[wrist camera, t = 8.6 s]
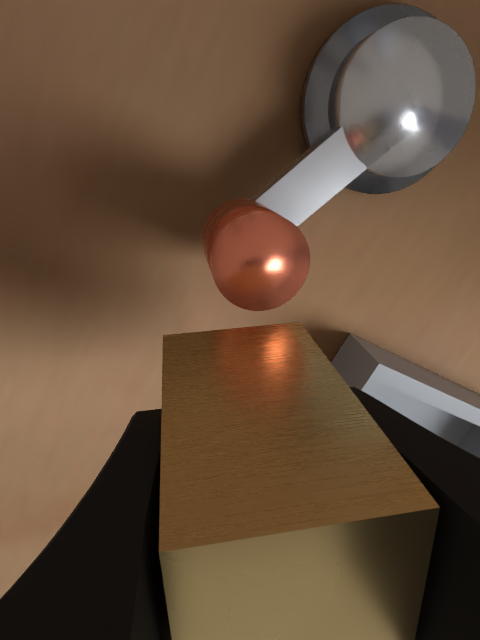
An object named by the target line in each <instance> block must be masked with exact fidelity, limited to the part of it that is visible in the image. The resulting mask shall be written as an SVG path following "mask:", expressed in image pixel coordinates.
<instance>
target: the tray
mask: <svg viewBox="0 0 480 640" xmlns="http://www.w3.org/2000/svg"><path fill="white" fill-rule="evenodd" d="M331 364H332V365H333V366H334V368H335V369H336V370H337V372H338V373H339V374H340V376H341V377H342V378H343V380H344V381H345V382H346V384H347V385H348V386H349V387H356V388H358V389H360V390H361V391H363V392H365V393H367V394H369V395H370V396H372V397H374V398H375V399H377V400H379V401H380V402H382V403H384V404H385V405H387V406H389V407H390V408H392V409H394V410H395V411H397V412H399V413H400V414H402V415H404V416H405V417H407V418H409V419H410V420H412V421H414V422H415V423H417V424H419V425H421V426H422V427H424V428H426V429H427V430H429V431H431V432H433V433H434V434H436V435H438V436H440V437H441V438H443V439H445V440H447V441H449V442H450V443H452V444H454V445H456V446H458V447H459V448H461V449H463V450H465V451H467V452H469V453H471V454H473V455H475V456H477V457H478V458H480V395H479V394H477V393H475V392H473V391H471V390H469V389H467V388H465V387H462V386H460V385H458V384H456V383H454V382H452V381H450V380H448V379H446V378H443V377H441V376H439V375H437V374H435V373H433V372H431V371H429V370H426V369H424V368H422V367H420V366H418V365H416V364H414V363H412V362H409V361H407V360H405V359H403V358H401V357H399V356H397V355H395V354H392V353H390V352H388V351H386V350H384V349H382V348H380V347H378V346H376V345H373V344H371V343H369V342H367V341H365V340H363V339H361V338H359V337H356V336H354V335H352V334H349V335H348V337H347V338H346V340H345V341H344V343H343V345H342V346H341V348H340V349H339V351H338V352H337V354H336V356H335V357H334V359H333V360H332V362H331Z"/></svg>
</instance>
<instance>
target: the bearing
mask: <svg viewBox="0 0 480 640" xmlns="http://www.w3.org/2000/svg"><path fill="white" fill-rule="evenodd" d="M415 16H422V17H429V18H433V19H436V20H438V19H437V18H435V17H434V16H432V15H431V14H430V13H428V12H426V11H424V10H422V9H420V8H417V7H414V6H410V5H405V4H385V5H381V6H377V7H373V8H370V9H368V10H366V11H363V12H361V13H360V14H358V15H356V16H354V17H353V18H351V19H350V20H348V21H347V22H345V23H344V24H343V25H342V26H340V27H339V28H338V29H337V30H335V31H334V32H333V33H332V34H331V35H330V36H329V38H328V39H327V40H326V41H325V42H324V44H323V45H322V46H321V48H320V49H319V50H318V52H317V54H316V56H315V57H314V59H313V61H312V63H311V65H310V68H309V70H308V72H307V75H306V79H305V82H304V85H303V91H302V96H301V108H300V113H301V126H302V132H303V136H304V140H305V143H306V146H307V148H308V149H309V148H310V147H311V146H312V145H313V144H315V143H316V142H317V141H318V140H319V139H320V138H322V137H323V136H324V135H325V134H326V133H327V132H329V131H330V126H329V119H328V101H329V94H330V89H331V85H332V82H333V79H334V76H335V74H336V72H337V70H338V68H339V66H340V64H341V63H342V61H343V59H344V58H345V56H346V55H347V54H348V53H349V51H350V50H351V49H352V48H353V47H354V46H355V45H356V44H357V43H358V42H359V41H361V40H362V39H363V38H365V37H366V36H368V35H370V34H371V33H373V32H375V31H377V30H379V29H380V28H382V27H384V26H386V25H388V24H390V23H392V22H394V21H397V20H399V19H403V18H407V17H415ZM435 166H436V165H435ZM435 166H434V167H435ZM434 167H432V168H430V169H428V170H426V171H424V172H422V173H419V174H417V175H413V176H409V177H388V176H381V175H374V174H369V173H367V172H364V171H363V172H362V173H361V174H360V175H359V176H357V177H356V178H355V179H354V180H353V181H351V182H350V183H349V184H348V185H347V186H345V188H347V189H350V190H354V191H358V192H362V193H368V194H382V193H390V192H393V191H397V190H400V189H403V188H405V187H407V186H409V185H411V184H413V183H415V182H416V181H418V180H419V179H421V178H422V177H423V176H425V175H426V174H427V173H428V172H429V171H430V170H432V169H433V168H434Z"/></svg>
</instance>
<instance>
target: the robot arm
mask: <svg viewBox="0 0 480 640" xmlns="http://www.w3.org/2000/svg"><path fill="white" fill-rule="evenodd" d="M349 388H350V389H351V390H352V392H353V393H354V394H355V395H356V397H357V398H358V399H359V401H360V402H361V403H362V405H363V406H364V407H365V409H366V410H367V411H368V413H369V414H370V415H371V417H372V418H373V419H374V421H375V422H376V423H377V425H378V426H379V427H380V429H381V430H382V431H383V433H384V434H385V435H386V436H387V438H388V439H389V440H390V442H391V443H392V444H393V446H394V447H395V448H396V450H397V451H398V452H399V454H400V455H401V456H402V458H403V459H404V460H405V462H406V463H407V464H408V466H409V467H410V468H411V470H412V471H413V472H414V474H415V475H416V476H417V478H418V479H419V480H420V481H421V483H422V484H423V485H424V487H425V488H426V489H427V491H428V492H429V493H430V495H431V496H432V497H433V499H434V500H435V501H436V503H437V504H438V505H439V507H440V510H439V515H438V521H437V526H436V531H435V536H434V542H433V547H432V552H431V557H430V563H429V568H428V573H427V578H426V583H425V589H424V594H423V599H422V604H421V610H420V615H419V620H418V625H417V630H416V636H415V640H480V458H478V457H477V456H475V455H473V454H471V453H469V452H467V451H465V450H463V449H461V448H459V447H458V446H456V445H454V444H452V443H450V442H449V441H447V440H445V439H443V438H441V437H440V436H438V435H436V434H434V433H433V432H431V431H429V430H427V429H426V428H424V427H422V426H421V425H419V424H417V423H415V422H414V421H412V420H410V419H409V418H407V417H405V416H404V415H402V414H400V413H399V412H397V411H395V410H394V409H392V408H390V407H389V406H387V405H385V404H384V403H382V402H380V401H379V400H377V399H375V398H374V397H372V396H370V395H369V394H367V393H365V392H363V391H361V390H360V389H358V388H356V387H349ZM161 414H162V409H156V410H147V411H139V412H136V413H135V414H134V415H133V416H132V418H131V420H130V422H129V424H128V426H127V428H126V430H125V432H124V433H123V435H122V437H121V439H120V440H119V442H118V444H117V446H116V447H115V449H114V451H113V452H112V454H111V456H110V457H109V459H108V460H107V462H106V464H105V465H104V467H103V468H102V470H101V471H100V473H99V474H98V476H97V478H96V479H95V481H94V482H93V484H92V485H91V487H90V488H89V490H88V491H87V492H86V494H85V495H84V497H83V498H82V499H81V501H80V502H79V503H78V505H77V506H76V508H75V509H74V510H73V512H72V513H71V514H70V516H69V517H68V519H67V520H66V521H65V523H64V524H63V525H62V527H61V528H60V529H59V531H58V532H57V533H56V534H55V536H54V537H53V538H52V539H51V541H50V542H49V543H48V545H47V546H46V547H45V548H44V549H43V551H42V552H41V553H40V554H39V556H38V557H37V558H36V559H35V560H34V561H33V563H32V564H31V565H30V566H29V567H28V568H27V570H26V571H25V572H24V573H23V574H22V575H21V577H20V578H19V579H18V580H17V581H16V582H15V583H14V585H13V586H12V587H11V588H10V589H9V590H8V591H7V592H6V593H5V594H4V596H3V597H2V598H1V599H0V640H172V637H171V631H170V624H169V617H168V611H167V604H166V597H165V591H164V584H163V577H162V571H161V564H160V557H159V518H160V466H161Z"/></svg>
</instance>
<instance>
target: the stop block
mask: <svg viewBox="0 0 480 640" xmlns="http://www.w3.org/2000/svg"><path fill="white" fill-rule="evenodd" d="M439 510H440V507H439V505H438V504H437V503H436V501H435V500H434V499H433V497H432V496H431V495H430V493H429V492H428V491H427V489H426V488H425V487H424V485H423V484H422V483H421V481H420V480H419V479H418V478H417V476H416V475H415V474H414V472H413V471H412V470H411V468H410V467H409V466H408V464H407V463H406V462H405V460H404V459H403V458H402V456H401V455H400V454H399V452H398V451H397V450H396V448H395V447H394V446H393V444H392V443H391V442H390V440H389V439H388V438H387V436H386V435H385V434H384V433H383V431H382V430H381V429H380V427H379V426H378V425H377V423H376V422H375V421H374V419H373V418H372V417H371V415H370V414H369V413H368V411H367V410H366V409H365V407H364V406H363V405H362V403H361V402H360V401H359V399H358V398H357V397H356V395H355V394H354V393H353V392H352V390H351V389H350V388H349V386H348V385H347V384H346V382H345V381H344V380H343V378H342V377H341V376H340V374H339V373H338V372H337V370H336V369H335V368H334V366H333V365H332V364H331V362H330V361H329V360H328V358H327V357H326V356H325V354H324V353H323V352H322V351H321V349H320V348H319V347H318V345H317V344H316V343H315V341H314V340H313V339H312V337H311V336H310V335H309V333H308V332H307V331H306V329H305V328H304V327H303V325H302V324H301V323H300V322H297V323H286V324H276V325H265V326H255V327H244V328H234V329H223V330H213V331H202V332H192V333H181V334H171V335H163V363H162V414H161V466H160V518H159V557H160V564H161V571H162V577H163V584H164V591H165V597H166V604H167V611H168V617H169V624H170V631H171V637H172V640H415V636H416V630H417V625H418V620H419V615H420V610H421V604H422V599H423V594H424V589H425V583H426V578H427V573H428V568H429V563H430V557H431V552H432V547H433V542H434V536H435V531H436V526H437V521H438V515H439Z"/></svg>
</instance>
